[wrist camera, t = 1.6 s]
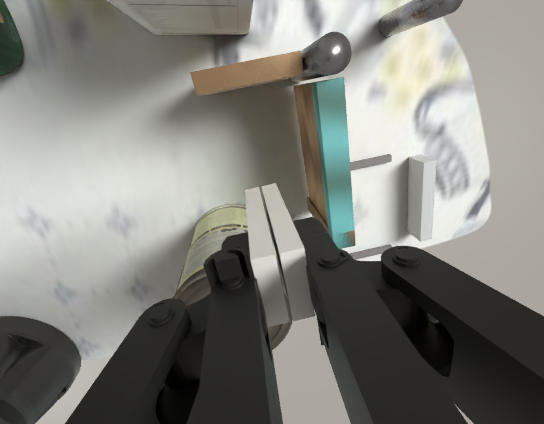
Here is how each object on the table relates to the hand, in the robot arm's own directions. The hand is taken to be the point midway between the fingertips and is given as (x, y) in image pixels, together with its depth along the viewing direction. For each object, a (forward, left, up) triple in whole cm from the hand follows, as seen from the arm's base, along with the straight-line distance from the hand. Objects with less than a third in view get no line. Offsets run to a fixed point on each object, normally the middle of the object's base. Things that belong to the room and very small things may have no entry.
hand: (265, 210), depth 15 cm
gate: (+6, -2, -17) cm, 18 cm away
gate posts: (+7, +8, -18) cm, 21 cm away
